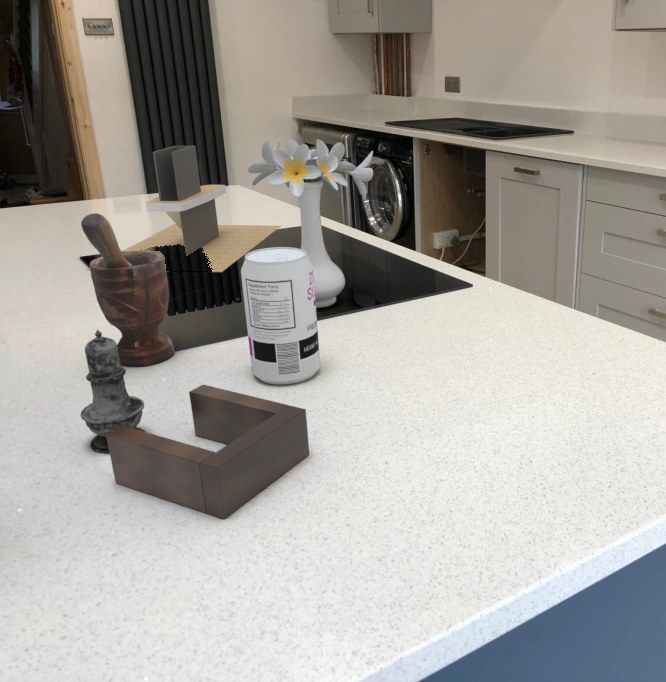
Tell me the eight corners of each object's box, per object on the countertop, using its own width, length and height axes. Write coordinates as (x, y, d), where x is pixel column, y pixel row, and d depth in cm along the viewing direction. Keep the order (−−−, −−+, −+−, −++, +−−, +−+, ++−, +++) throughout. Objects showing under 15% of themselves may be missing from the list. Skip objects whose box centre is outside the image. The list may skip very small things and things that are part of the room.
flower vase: (389, 304, 115) (383, 140, 106) (272, 322, 107) (256, 147, 98) (360, 282, 126) (353, 132, 117) (252, 298, 118) (235, 138, 109)
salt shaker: (75, 444, 74) (50, 332, 70) (127, 421, 79) (108, 315, 74) (109, 460, 71) (86, 345, 67) (161, 436, 75) (143, 326, 71)
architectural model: (173, 224, 169) (161, 136, 162) (281, 225, 168) (273, 137, 161) (86, 269, 134) (65, 159, 127) (221, 272, 132) (208, 160, 125)
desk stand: (115, 483, 67) (105, 434, 65) (209, 427, 77) (203, 384, 75) (224, 519, 62) (217, 468, 60) (309, 454, 72) (306, 408, 70)
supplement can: (241, 371, 91) (227, 253, 85) (300, 354, 96) (291, 242, 90) (271, 392, 85) (258, 268, 80) (333, 374, 90) (325, 255, 85)
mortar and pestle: (179, 373, 90) (154, 212, 83) (102, 383, 88) (70, 217, 80) (178, 341, 100) (156, 194, 93) (110, 349, 98) (82, 199, 90)
